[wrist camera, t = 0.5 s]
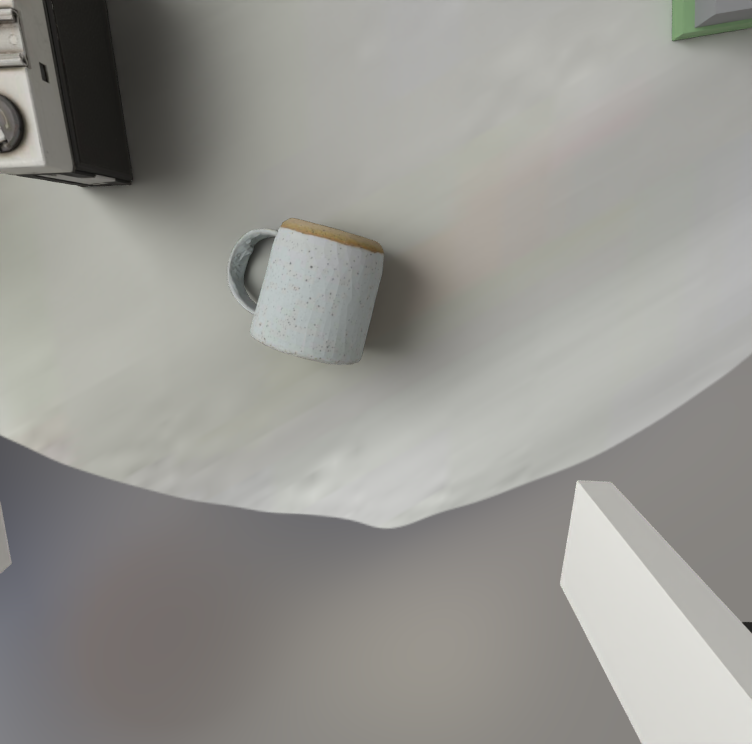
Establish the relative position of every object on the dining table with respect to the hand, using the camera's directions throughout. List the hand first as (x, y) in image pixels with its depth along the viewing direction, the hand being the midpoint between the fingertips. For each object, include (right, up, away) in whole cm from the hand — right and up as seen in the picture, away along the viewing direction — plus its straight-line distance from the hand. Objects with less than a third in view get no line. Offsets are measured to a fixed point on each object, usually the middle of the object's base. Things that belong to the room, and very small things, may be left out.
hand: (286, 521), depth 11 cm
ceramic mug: (-3, +10, +25) cm, 27 cm away
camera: (-19, +23, +22) cm, 37 cm away
